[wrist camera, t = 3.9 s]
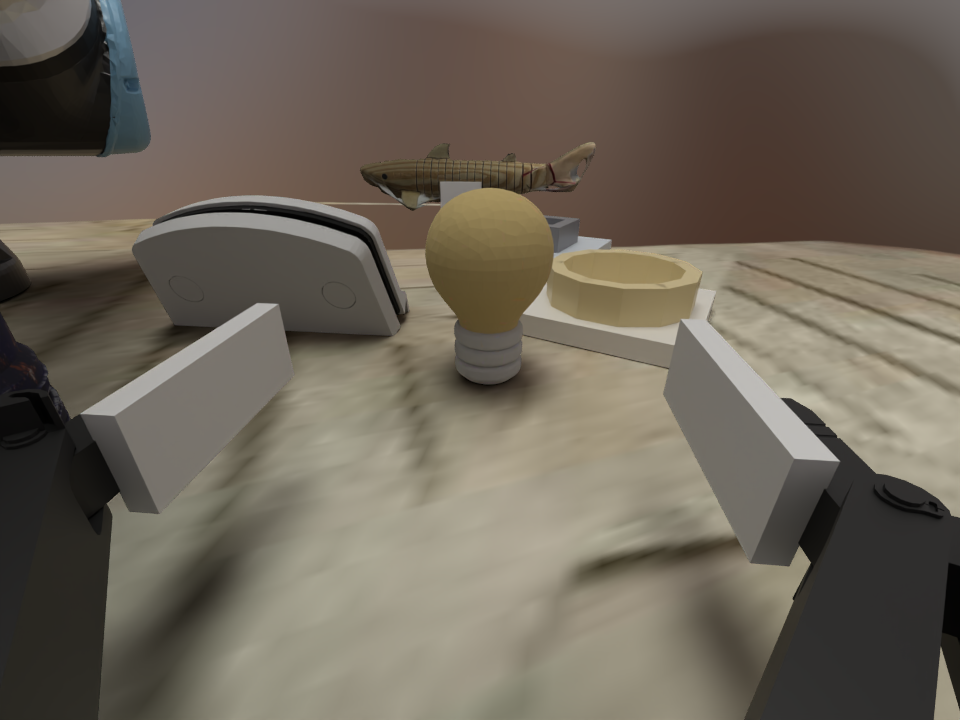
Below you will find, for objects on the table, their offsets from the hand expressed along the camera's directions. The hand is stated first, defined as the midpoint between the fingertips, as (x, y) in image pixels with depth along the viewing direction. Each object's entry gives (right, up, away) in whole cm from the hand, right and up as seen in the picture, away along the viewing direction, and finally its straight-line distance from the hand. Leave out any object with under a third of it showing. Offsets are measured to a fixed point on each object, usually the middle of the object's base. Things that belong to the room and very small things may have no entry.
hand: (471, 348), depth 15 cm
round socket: (+10, +3, +18) cm, 21 cm away
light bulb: (+1, -1, +11) cm, 11 cm away
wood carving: (0, +21, +55) cm, 59 cm away
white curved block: (-14, +2, +17) cm, 22 cm away
